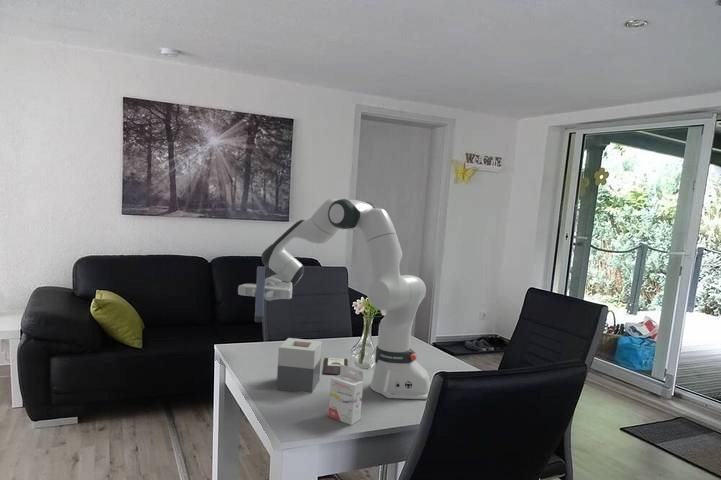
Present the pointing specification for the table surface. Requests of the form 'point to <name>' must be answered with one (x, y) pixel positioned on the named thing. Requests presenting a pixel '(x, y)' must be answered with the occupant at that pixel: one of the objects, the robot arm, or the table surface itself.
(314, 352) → the box
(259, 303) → the stylus
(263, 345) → the table surface
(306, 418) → the table surface
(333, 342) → the table surface
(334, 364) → the chocolate bar
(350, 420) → the ink cartridge box
